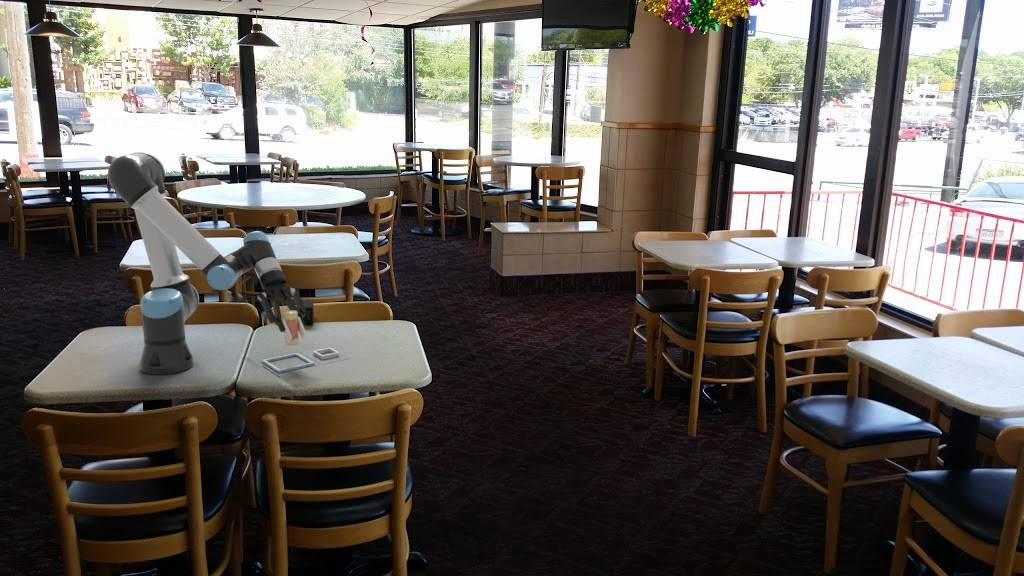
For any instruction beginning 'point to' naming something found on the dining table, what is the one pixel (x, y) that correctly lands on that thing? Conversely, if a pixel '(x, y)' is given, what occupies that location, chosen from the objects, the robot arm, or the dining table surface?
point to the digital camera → (308, 312)
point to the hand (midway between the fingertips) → (297, 338)
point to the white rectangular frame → (326, 355)
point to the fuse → (292, 326)
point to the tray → (309, 363)
